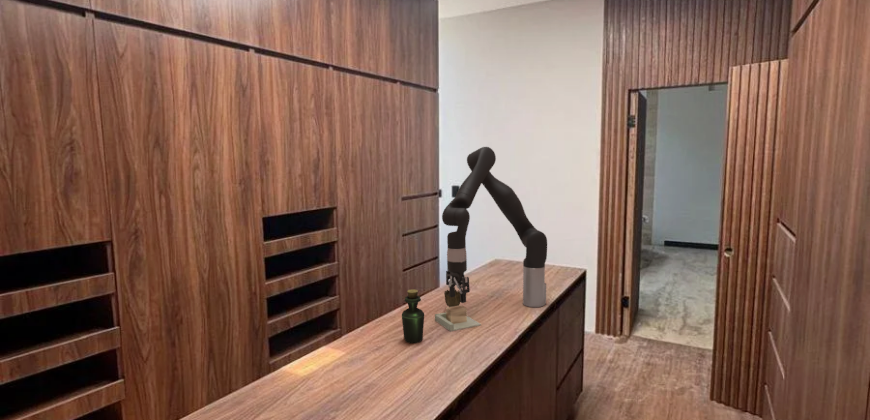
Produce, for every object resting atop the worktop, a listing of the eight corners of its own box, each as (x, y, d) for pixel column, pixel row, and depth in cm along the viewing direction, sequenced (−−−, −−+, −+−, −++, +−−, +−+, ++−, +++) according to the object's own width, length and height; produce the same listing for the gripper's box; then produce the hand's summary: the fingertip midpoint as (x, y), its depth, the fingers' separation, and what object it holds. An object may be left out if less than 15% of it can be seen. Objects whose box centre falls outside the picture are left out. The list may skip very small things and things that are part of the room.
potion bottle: (419, 345, 158) (418, 295, 156) (398, 342, 161) (397, 293, 159) (428, 337, 166) (427, 288, 164) (407, 334, 169) (406, 287, 167)
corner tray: (464, 315, 189) (464, 309, 188) (481, 325, 177) (481, 319, 177) (434, 320, 183) (434, 314, 183) (450, 331, 171) (450, 324, 171)
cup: (460, 313, 191) (460, 294, 190) (442, 312, 192) (442, 293, 191) (462, 307, 198) (462, 289, 197) (446, 306, 200) (445, 288, 199)
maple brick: (446, 321, 180) (446, 307, 180) (461, 318, 183) (461, 305, 183) (450, 324, 177) (450, 310, 176) (466, 321, 180) (466, 307, 179)
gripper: (439, 256, 181) (440, 296, 183) (457, 263, 169) (458, 306, 171) (456, 254, 185) (457, 293, 187) (474, 261, 172) (475, 303, 174)
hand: (457, 299), depth 179 cm, fingers open, 8 cm apart
